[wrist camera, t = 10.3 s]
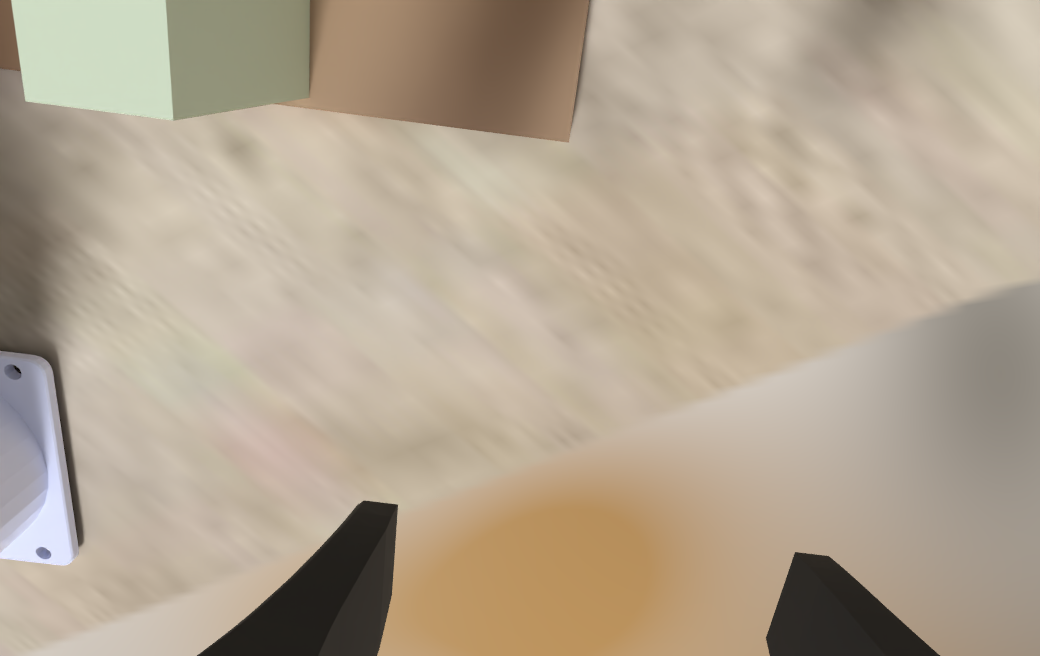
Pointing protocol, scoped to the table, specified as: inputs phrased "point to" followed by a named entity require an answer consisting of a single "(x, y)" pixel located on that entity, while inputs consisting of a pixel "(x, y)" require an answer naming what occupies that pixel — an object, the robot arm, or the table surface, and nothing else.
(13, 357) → the robot arm
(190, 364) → the table surface
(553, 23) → the slotted base
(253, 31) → the sage plate
